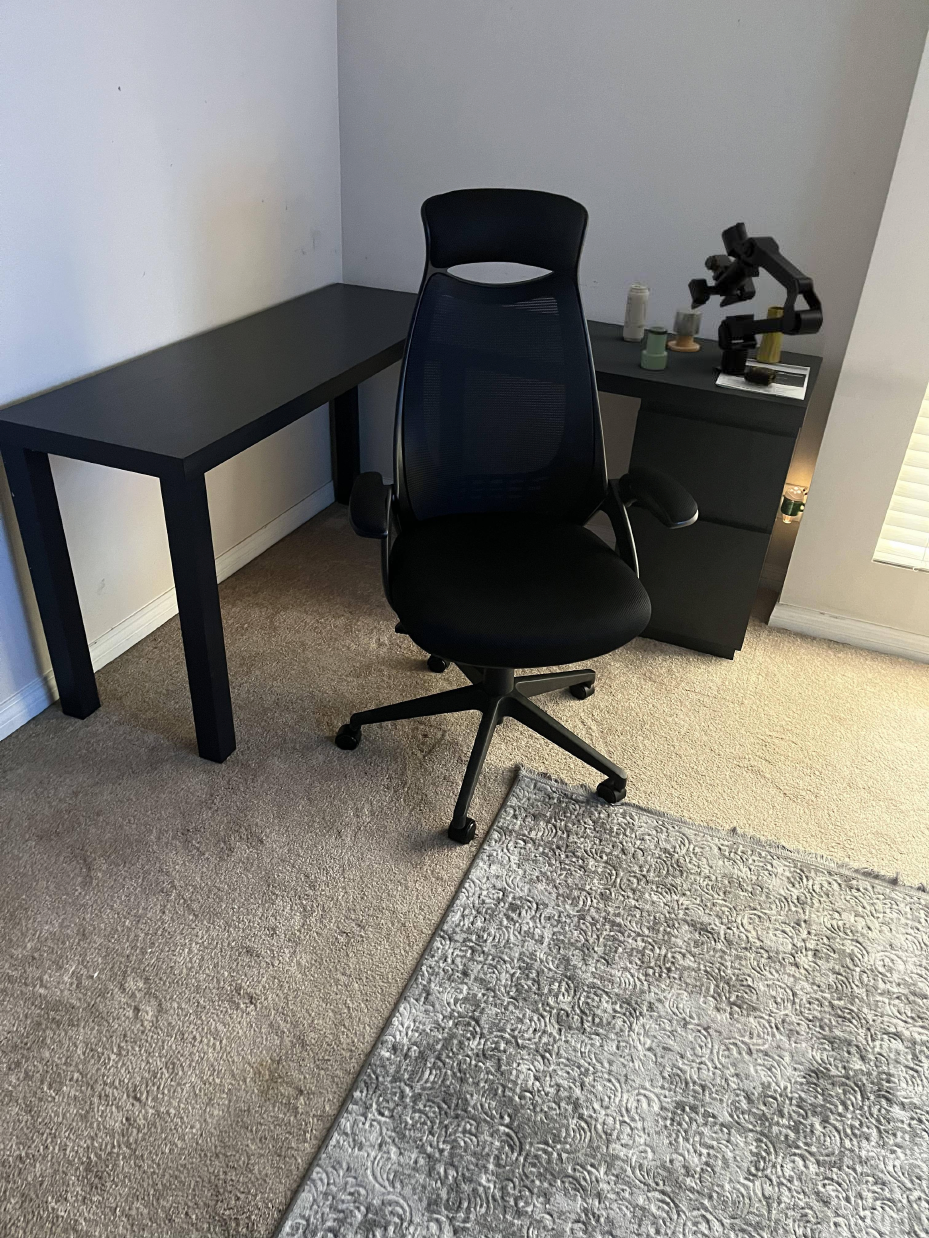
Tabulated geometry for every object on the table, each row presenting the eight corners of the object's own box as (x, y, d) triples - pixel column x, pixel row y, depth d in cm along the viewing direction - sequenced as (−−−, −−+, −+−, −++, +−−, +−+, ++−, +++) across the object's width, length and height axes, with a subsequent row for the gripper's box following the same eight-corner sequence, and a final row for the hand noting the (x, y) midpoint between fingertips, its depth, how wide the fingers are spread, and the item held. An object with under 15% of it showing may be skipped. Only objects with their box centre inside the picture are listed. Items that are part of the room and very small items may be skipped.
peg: (705, 350, 253) (711, 315, 247) (678, 353, 250) (684, 317, 245) (688, 342, 260) (693, 307, 254) (661, 344, 257) (666, 309, 252)
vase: (774, 365, 242) (785, 311, 234) (752, 360, 245) (763, 308, 238) (782, 360, 246) (793, 307, 239) (761, 356, 249) (771, 304, 242)
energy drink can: (641, 343, 258) (648, 289, 250) (620, 340, 260) (627, 287, 252) (644, 338, 263) (651, 285, 255) (624, 335, 264) (630, 283, 256)
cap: (703, 334, 251) (707, 312, 248) (681, 336, 249) (685, 314, 245) (689, 327, 257) (693, 306, 253) (668, 329, 254) (671, 308, 251)
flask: (670, 369, 237) (675, 331, 231) (648, 371, 235) (653, 333, 229) (657, 362, 242) (662, 325, 236) (636, 364, 240) (641, 326, 234)
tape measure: (741, 384, 227) (744, 369, 225) (752, 378, 231) (755, 364, 229) (766, 390, 223) (769, 375, 221) (777, 384, 228) (780, 369, 226)
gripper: (758, 244, 232) (726, 279, 246) (697, 246, 226) (668, 283, 241) (770, 281, 230) (737, 315, 244) (709, 285, 224) (679, 319, 239)
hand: (706, 307), depth 242 cm, fingers open, 9 cm apart
